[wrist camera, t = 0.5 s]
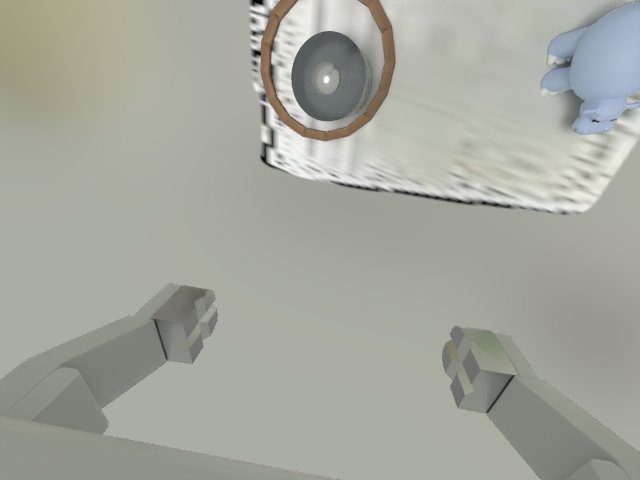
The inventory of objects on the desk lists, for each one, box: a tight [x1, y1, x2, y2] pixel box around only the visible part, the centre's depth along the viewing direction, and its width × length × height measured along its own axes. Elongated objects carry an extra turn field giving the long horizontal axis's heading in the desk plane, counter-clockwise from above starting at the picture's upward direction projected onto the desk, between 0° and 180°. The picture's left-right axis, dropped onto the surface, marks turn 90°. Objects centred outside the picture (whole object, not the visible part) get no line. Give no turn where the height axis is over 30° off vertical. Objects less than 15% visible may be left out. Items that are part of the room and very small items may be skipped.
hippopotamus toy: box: [540, 0, 640, 135], centre depth 32 cm, size 11×15×10 cm
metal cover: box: [291, 31, 372, 121], centre depth 40 cm, size 11×11×10 cm
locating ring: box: [261, 0, 395, 141], centre depth 44 cm, size 23×23×1 cm
